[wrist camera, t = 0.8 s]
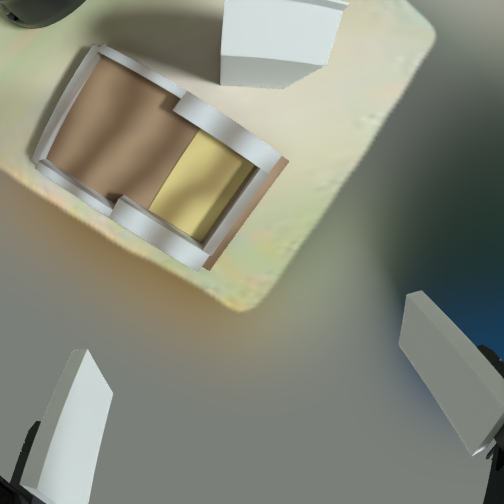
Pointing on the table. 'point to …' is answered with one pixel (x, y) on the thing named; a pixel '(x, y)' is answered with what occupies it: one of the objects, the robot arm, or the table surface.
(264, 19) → the milk carton
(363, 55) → the table surface
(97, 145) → the divided compartment tray
